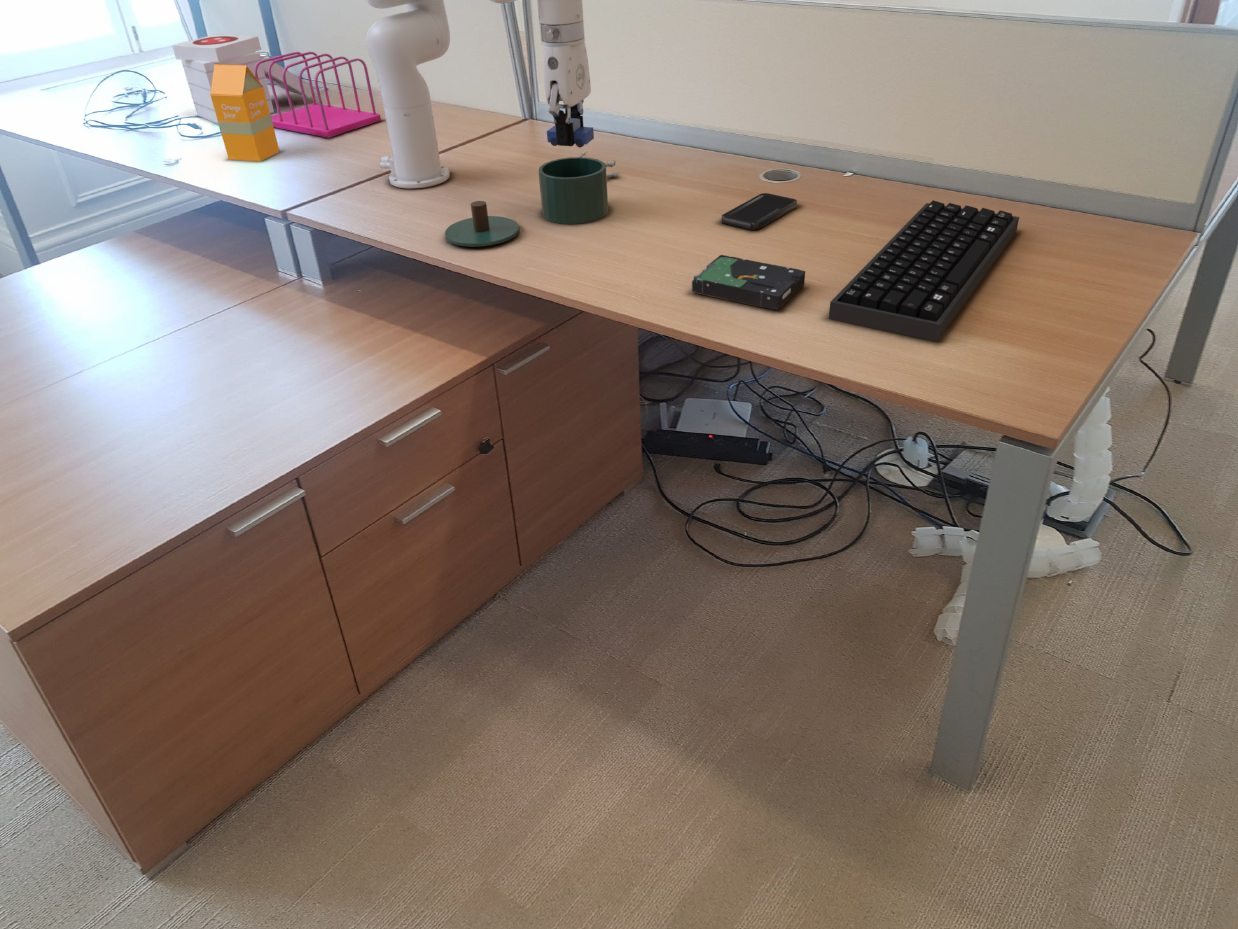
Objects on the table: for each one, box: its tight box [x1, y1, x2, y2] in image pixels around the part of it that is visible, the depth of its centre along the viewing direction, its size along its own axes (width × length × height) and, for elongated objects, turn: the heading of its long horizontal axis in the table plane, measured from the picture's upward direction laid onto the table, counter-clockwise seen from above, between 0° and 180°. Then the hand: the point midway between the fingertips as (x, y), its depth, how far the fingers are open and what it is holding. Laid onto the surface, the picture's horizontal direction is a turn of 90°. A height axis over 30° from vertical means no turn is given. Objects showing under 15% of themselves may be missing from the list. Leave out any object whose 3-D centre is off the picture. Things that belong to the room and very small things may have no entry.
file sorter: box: [254, 51, 382, 139], centre depth 233 cm, size 17×25×16 cm
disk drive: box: [691, 254, 806, 311], centre depth 146 cm, size 10×3×15 cm
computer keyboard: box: [828, 200, 1020, 343], centre depth 148 cm, size 45×16×4 cm, turn 148°
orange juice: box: [210, 64, 280, 163], centre depth 212 cm, size 8×9×20 cm
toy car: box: [546, 118, 595, 149], centre depth 169 cm, size 8×4×4 cm, turn 69°
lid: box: [444, 200, 520, 248], centre depth 169 cm, size 13×13×6 cm
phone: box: [721, 192, 798, 231], centre depth 172 cm, size 8×1×15 cm
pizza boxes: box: [171, 33, 316, 125], centre depth 248 cm, size 19×30×18 cm, turn 133°
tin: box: [538, 156, 609, 225], centre depth 175 cm, size 12×12×8 cm
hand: (570, 140), depth 170 cm, fingers closed on toy car, 3 cm apart
